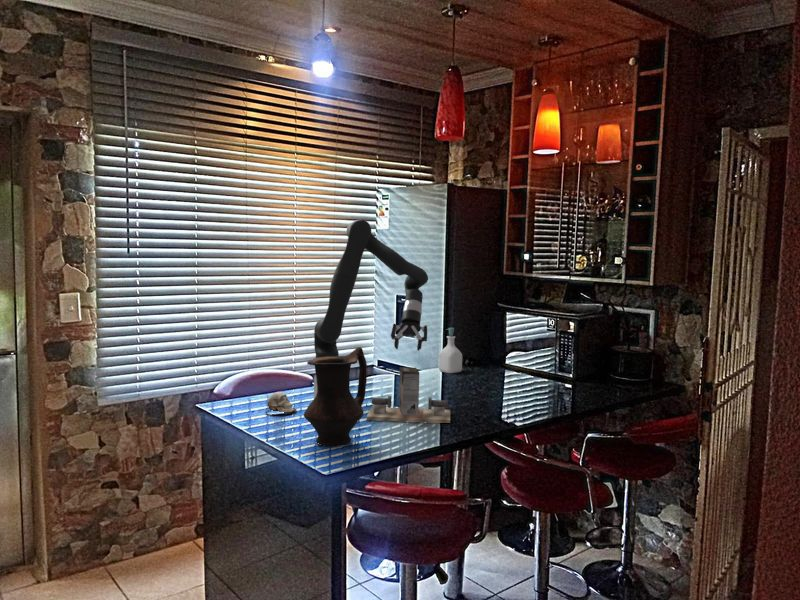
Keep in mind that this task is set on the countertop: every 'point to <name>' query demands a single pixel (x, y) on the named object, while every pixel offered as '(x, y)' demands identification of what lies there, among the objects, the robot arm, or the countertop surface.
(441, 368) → the soap bottle
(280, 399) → the skull
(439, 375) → the countertop surface
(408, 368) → the coffee box
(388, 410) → the shaft board
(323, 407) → the jug
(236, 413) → the countertop surface
